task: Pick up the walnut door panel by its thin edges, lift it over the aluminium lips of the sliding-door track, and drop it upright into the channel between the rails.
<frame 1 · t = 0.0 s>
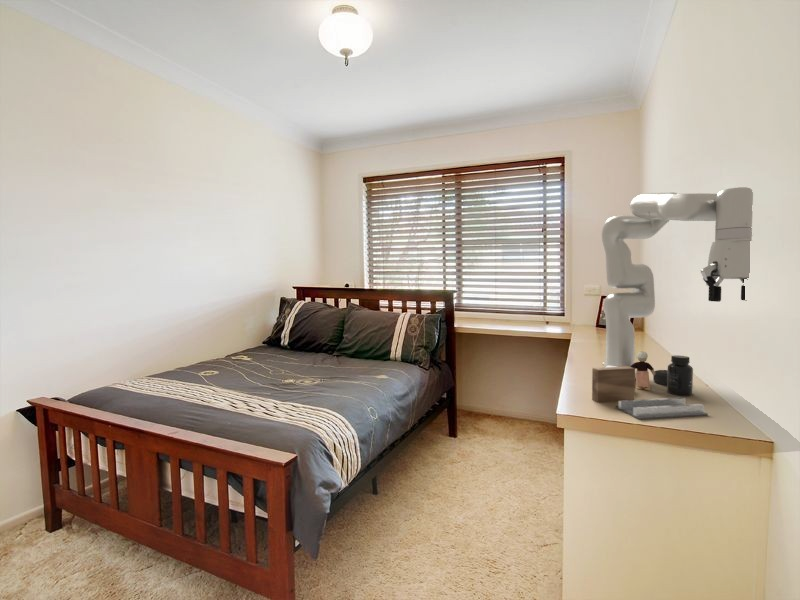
hand: (731, 300, 109), 31 cm above the table, tool pointing down, fingers open, 9 cm apart
grandmother figurine: (641, 389, 138), on the table
walnut door panel: (613, 400, 126), on the table
smart speaker: (668, 384, 145), on the table
door track: (660, 411, 115), on the table
product box: (614, 389, 138), on the table
supplement bottle: (679, 393, 132), on the table
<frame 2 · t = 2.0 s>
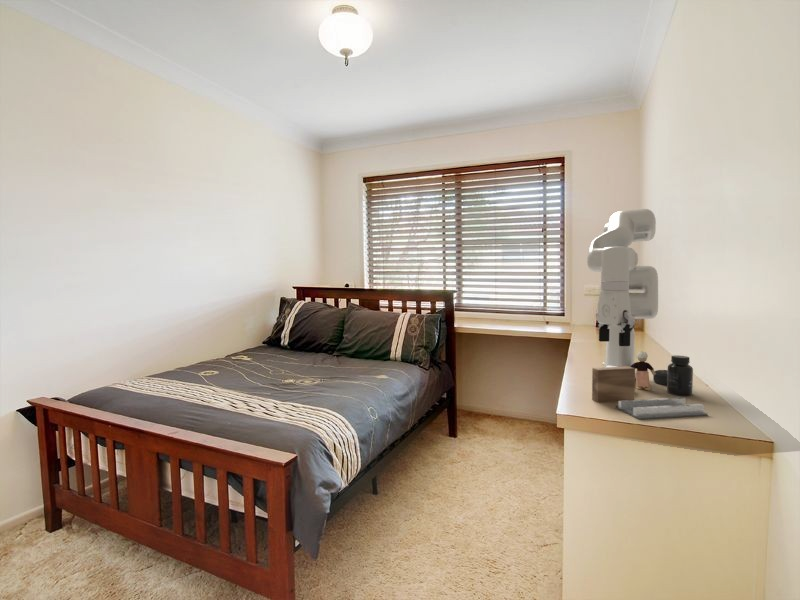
hand: (613, 343, 125), 18 cm above the table, tool pointing down, fingers open, 9 cm apart
nothing on the table moved.
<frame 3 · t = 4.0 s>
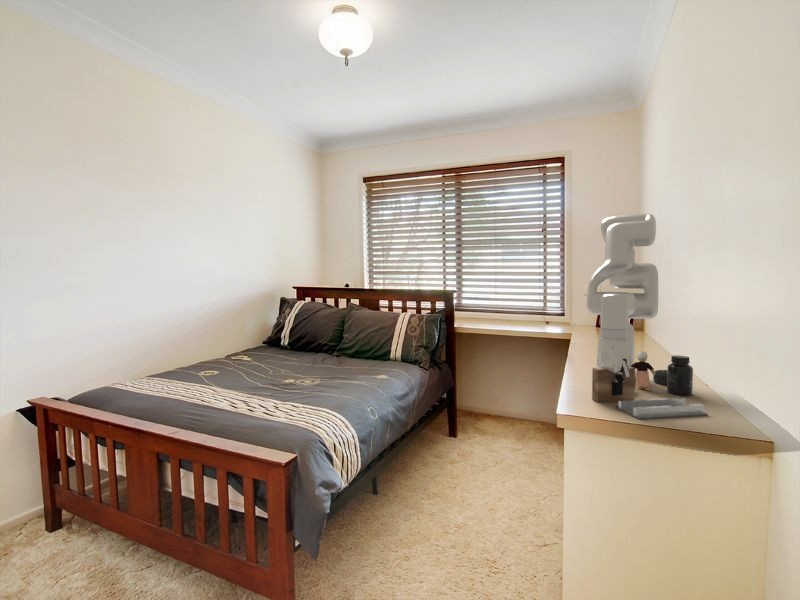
hand: (613, 392, 126), 2 cm above the table, tool pointing down, fingers closed on walnut door panel, 3 cm apart
walnut door panel: (613, 399, 126), on the table, touching gripper
everything else where it was.
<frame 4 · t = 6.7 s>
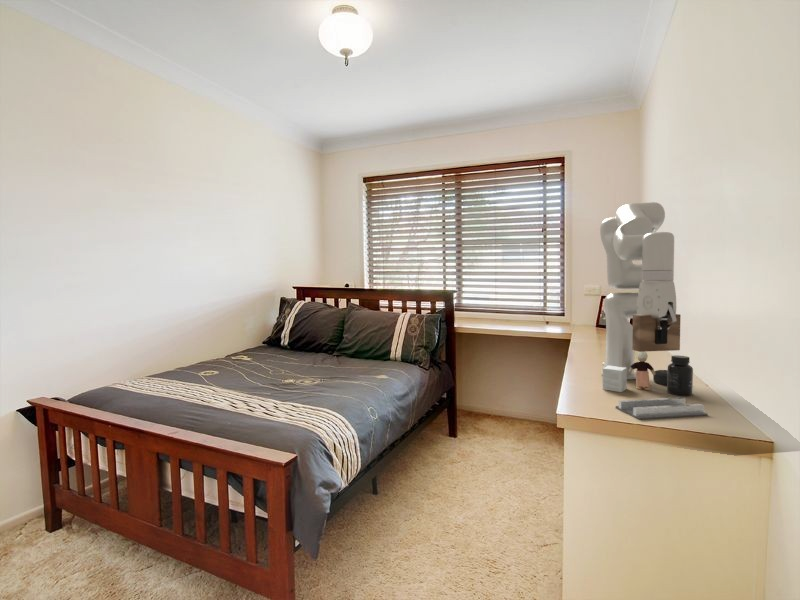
hand: (656, 342, 115), 20 cm above the table, tool pointing down, fingers closed on walnut door panel, 3 cm apart
walnut door panel: (655, 350, 115), point 17 cm above the table, touching gripper
everything else where it was.
when the fingers open (4 cm above the table, at t = 9.4 s): walnut door panel drops 1 cm, resting on door track.
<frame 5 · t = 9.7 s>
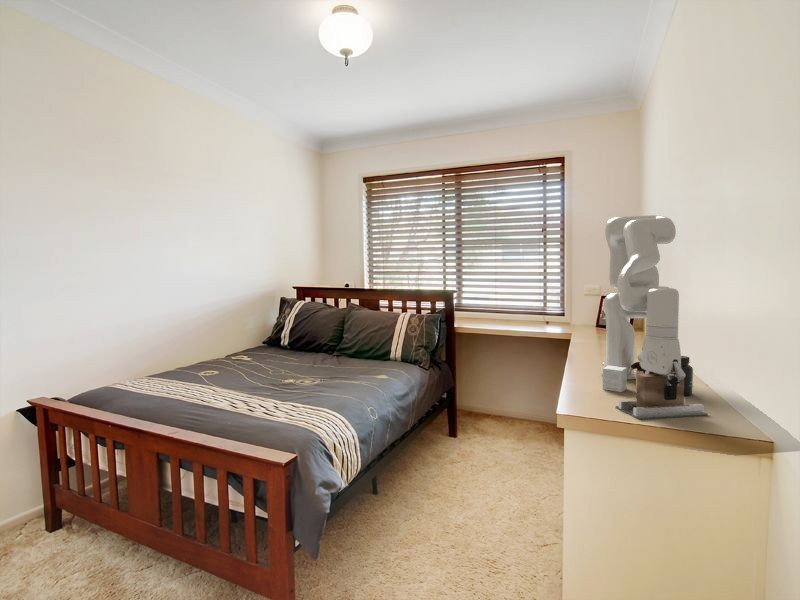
hand: (660, 395, 115), 5 cm above the table, tool pointing down, fingers open, 6 cm apart
walnut door panel: (659, 409, 115), point 1 cm above the table, touching door track
everything else where it was.
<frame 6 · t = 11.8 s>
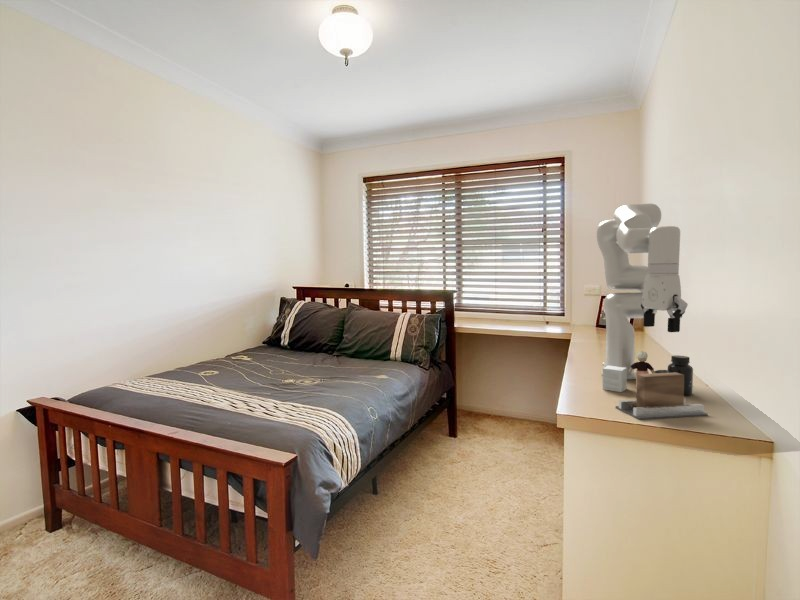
hand: (660, 329, 119), 23 cm above the table, tool pointing down, fingers open, 9 cm apart
nothing on the table moved.
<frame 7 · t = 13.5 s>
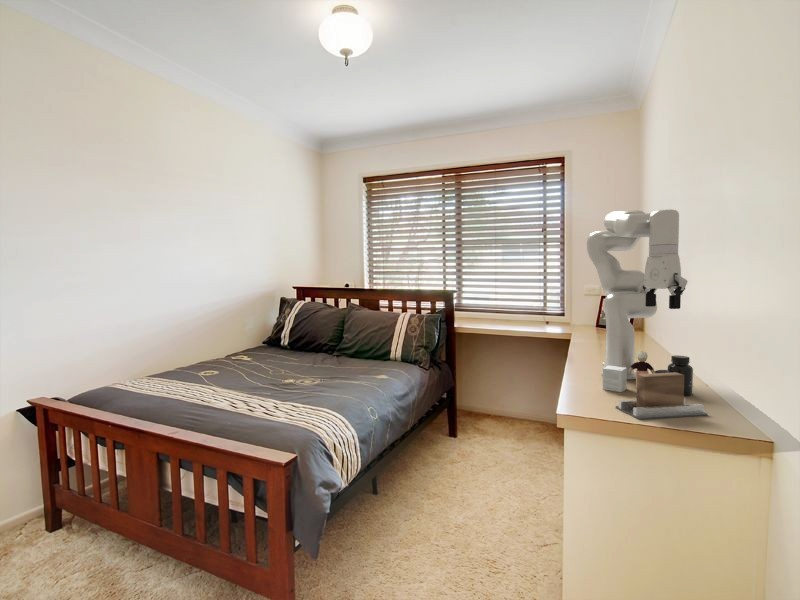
hand: (662, 307, 125), 28 cm above the table, tool pointing down, fingers open, 9 cm apart
nothing on the table moved.
at the end: walnut door panel inside the target area on the door track (0.1 cm from its centre), point 0.5 cm above the door track's base; walnut door panel tilted 0°; the gripper is holding nothing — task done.
